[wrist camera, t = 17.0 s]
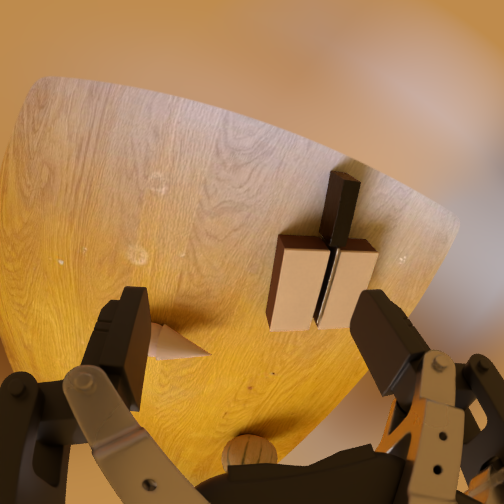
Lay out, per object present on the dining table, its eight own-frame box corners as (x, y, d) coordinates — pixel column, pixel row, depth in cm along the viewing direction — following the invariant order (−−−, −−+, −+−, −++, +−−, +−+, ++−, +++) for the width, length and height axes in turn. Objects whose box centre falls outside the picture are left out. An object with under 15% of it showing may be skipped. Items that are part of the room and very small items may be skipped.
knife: (330, 170, 37) (345, 180, 33) (346, 172, 38) (362, 183, 33) (302, 304, 48) (310, 324, 43) (315, 303, 48) (324, 323, 44)
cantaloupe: (281, 435, 72) (291, 480, 59) (239, 450, 74) (245, 492, 61) (254, 420, 65) (262, 472, 52) (208, 436, 68) (211, 484, 55)
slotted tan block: (278, 234, 41) (285, 249, 37) (365, 239, 43) (379, 253, 39) (265, 312, 47) (270, 331, 44) (343, 310, 50) (352, 327, 46)
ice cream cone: (207, 376, 41) (114, 350, 40) (208, 369, 47) (125, 346, 46) (216, 338, 42) (122, 313, 41) (216, 335, 48) (132, 313, 47)
